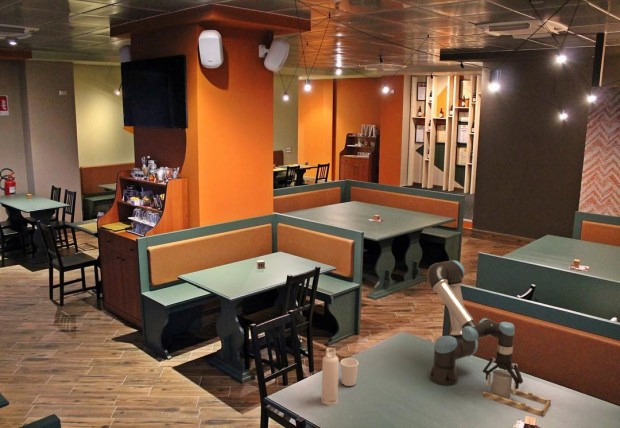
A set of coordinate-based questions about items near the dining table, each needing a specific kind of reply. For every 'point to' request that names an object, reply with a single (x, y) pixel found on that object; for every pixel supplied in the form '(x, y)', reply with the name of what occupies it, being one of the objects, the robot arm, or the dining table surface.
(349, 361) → the cup
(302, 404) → the dining table surface
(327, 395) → the bottle
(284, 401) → the dining table surface
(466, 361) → the dining table surface
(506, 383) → the speckled beige cylinder
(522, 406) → the beam frame
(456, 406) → the dining table surface
